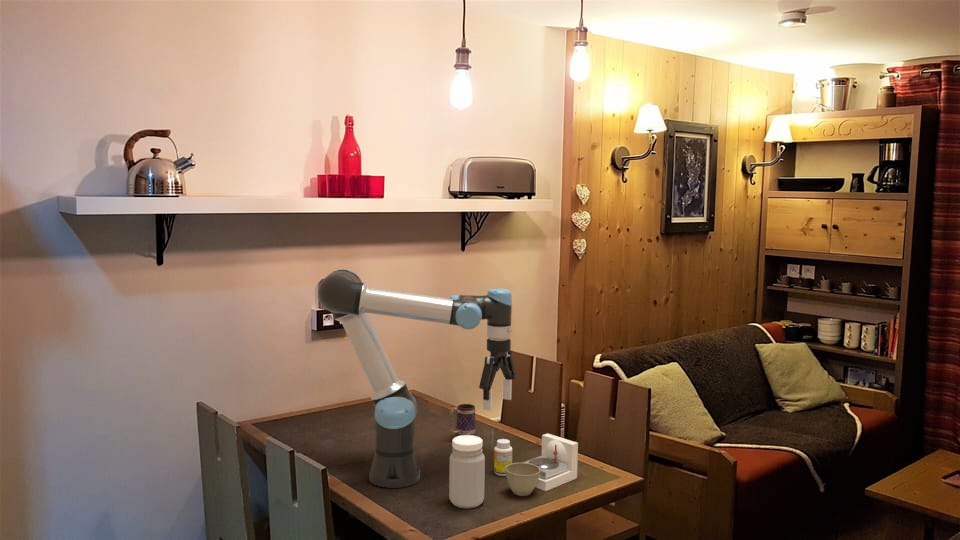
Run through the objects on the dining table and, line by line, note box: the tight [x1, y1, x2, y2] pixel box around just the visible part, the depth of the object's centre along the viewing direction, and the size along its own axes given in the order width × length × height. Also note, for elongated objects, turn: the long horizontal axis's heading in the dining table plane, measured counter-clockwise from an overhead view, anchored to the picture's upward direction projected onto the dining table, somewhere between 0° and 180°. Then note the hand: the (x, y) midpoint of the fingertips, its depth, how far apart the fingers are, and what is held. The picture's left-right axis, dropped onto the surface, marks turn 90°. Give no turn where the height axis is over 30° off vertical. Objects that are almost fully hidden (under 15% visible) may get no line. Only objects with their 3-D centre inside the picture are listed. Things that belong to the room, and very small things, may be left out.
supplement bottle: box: [493, 438, 513, 477], centre depth 234 cm, size 6×6×10 cm
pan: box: [522, 455, 567, 479], centre depth 229 cm, size 10×10×2 cm
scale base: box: [535, 432, 579, 492], centre depth 230 cm, size 15×12×11 cm
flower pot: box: [505, 462, 540, 497], centre depth 219 cm, size 10×10×7 cm
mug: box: [449, 403, 477, 437], centre depth 264 cm, size 10×7×12 cm
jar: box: [448, 435, 486, 509], centre depth 212 cm, size 10×10×18 cm
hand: (497, 404), depth 241 cm, fingers open, 13 cm apart
